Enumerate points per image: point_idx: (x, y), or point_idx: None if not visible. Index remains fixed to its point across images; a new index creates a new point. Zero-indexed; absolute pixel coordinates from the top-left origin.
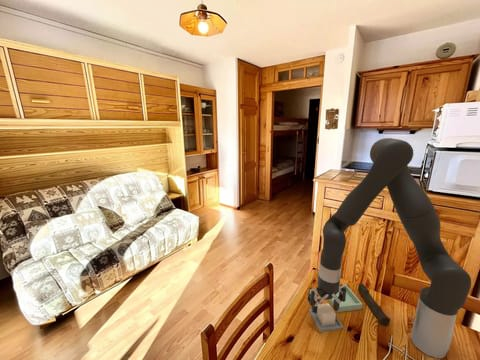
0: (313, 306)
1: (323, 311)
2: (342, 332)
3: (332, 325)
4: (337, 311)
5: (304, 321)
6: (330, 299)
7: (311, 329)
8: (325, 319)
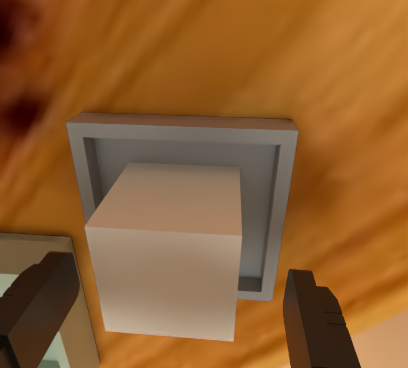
0: (357, 366)
1: (210, 275)
2: (95, 92)
3: (152, 158)
4: (58, 247)
5: (348, 229)
6: (70, 331)
7: (339, 162)
8: (213, 201)
